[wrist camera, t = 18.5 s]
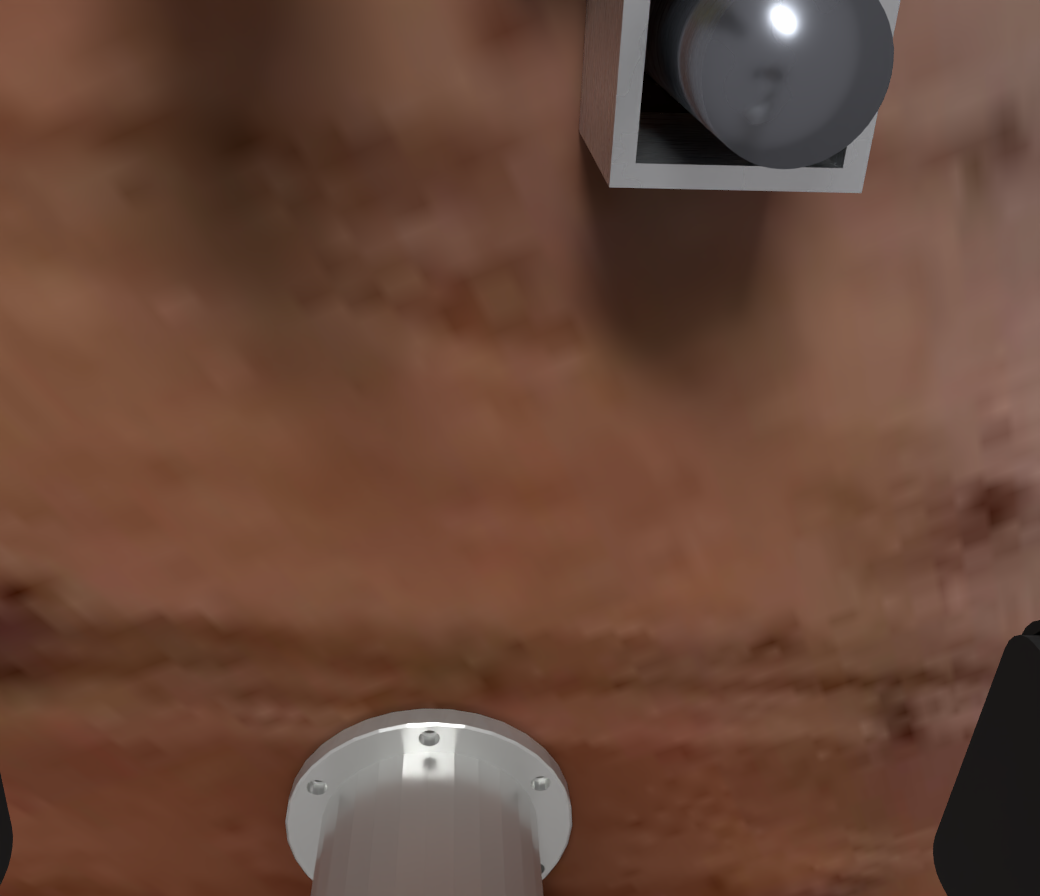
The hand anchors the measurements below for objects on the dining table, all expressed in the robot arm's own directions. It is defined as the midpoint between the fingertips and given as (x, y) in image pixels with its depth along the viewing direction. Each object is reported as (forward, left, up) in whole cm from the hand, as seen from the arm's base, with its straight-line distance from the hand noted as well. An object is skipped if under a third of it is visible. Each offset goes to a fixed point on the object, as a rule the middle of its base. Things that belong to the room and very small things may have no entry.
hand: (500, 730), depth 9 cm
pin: (+4, -7, -25) cm, 26 cm away
